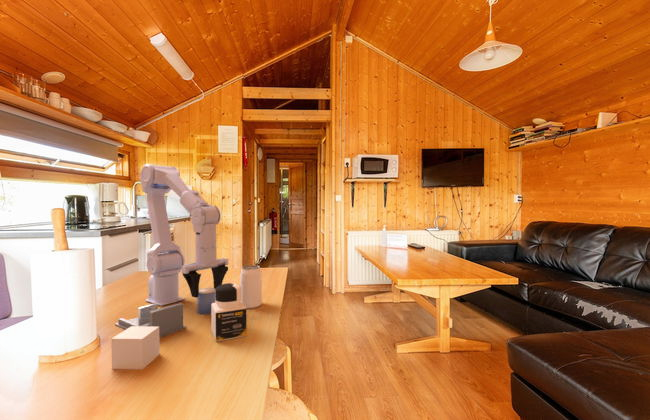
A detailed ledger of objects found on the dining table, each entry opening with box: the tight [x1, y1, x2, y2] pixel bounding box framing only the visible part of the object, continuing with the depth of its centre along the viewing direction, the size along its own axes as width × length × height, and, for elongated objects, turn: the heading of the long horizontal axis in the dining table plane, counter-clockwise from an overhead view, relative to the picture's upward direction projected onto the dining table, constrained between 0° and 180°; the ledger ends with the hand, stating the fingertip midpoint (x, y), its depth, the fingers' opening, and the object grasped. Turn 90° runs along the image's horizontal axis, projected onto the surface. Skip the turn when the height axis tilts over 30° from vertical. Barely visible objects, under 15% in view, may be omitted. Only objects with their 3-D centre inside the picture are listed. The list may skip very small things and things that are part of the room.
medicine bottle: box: [210, 282, 248, 343], centre depth 76 cm, size 7×7×12 cm
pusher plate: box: [137, 303, 159, 326], centre depth 81 cm, size 1×4×4 cm, turn 147°
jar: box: [196, 287, 216, 315], centre depth 92 cm, size 5×5×6 cm
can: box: [239, 264, 263, 310], centre depth 98 cm, size 6×6×12 cm
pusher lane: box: [114, 302, 187, 339], centre depth 81 cm, size 17×9×6 cm, turn 57°
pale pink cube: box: [111, 326, 161, 370], centre depth 63 cm, size 6×6×6 cm
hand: (206, 293), depth 92 cm, fingers open, 7 cm apart
